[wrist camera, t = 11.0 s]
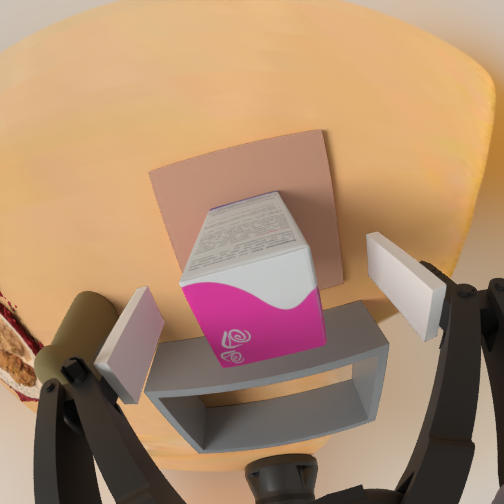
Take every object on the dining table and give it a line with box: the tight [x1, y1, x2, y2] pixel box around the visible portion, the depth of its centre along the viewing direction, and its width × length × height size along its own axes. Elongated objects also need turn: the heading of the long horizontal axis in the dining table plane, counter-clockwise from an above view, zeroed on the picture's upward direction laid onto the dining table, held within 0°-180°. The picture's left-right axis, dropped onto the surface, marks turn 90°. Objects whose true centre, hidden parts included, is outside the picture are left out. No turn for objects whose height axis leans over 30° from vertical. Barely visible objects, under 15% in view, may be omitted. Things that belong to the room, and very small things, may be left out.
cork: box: [34, 291, 119, 385], centre depth 21 cm, size 6×6×11 cm
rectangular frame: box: [144, 300, 389, 454], centre depth 26 cm, size 14×22×7 cm, turn 103°
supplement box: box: [179, 190, 327, 368], centre depth 17 cm, size 6×6×12 cm
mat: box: [148, 129, 344, 290], centre depth 22 cm, size 14×14×1 cm
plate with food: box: [0, 292, 44, 402], centre depth 27 cm, size 25×26×4 cm
